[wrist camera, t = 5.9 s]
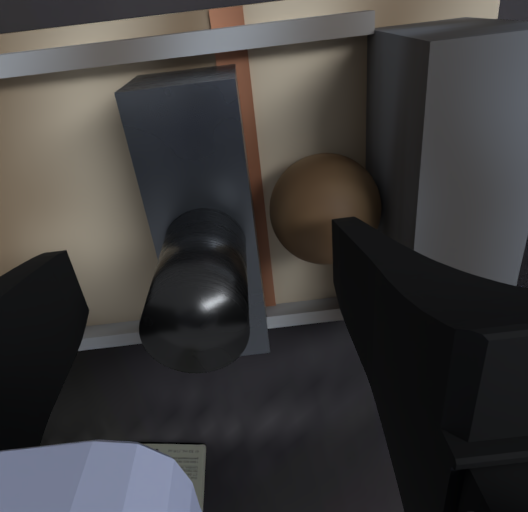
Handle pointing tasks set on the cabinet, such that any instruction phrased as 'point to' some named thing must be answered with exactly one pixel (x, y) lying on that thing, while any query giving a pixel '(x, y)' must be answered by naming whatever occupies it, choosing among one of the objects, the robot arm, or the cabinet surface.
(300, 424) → the cabinet surface
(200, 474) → the skincare box
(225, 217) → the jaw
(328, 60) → the press
